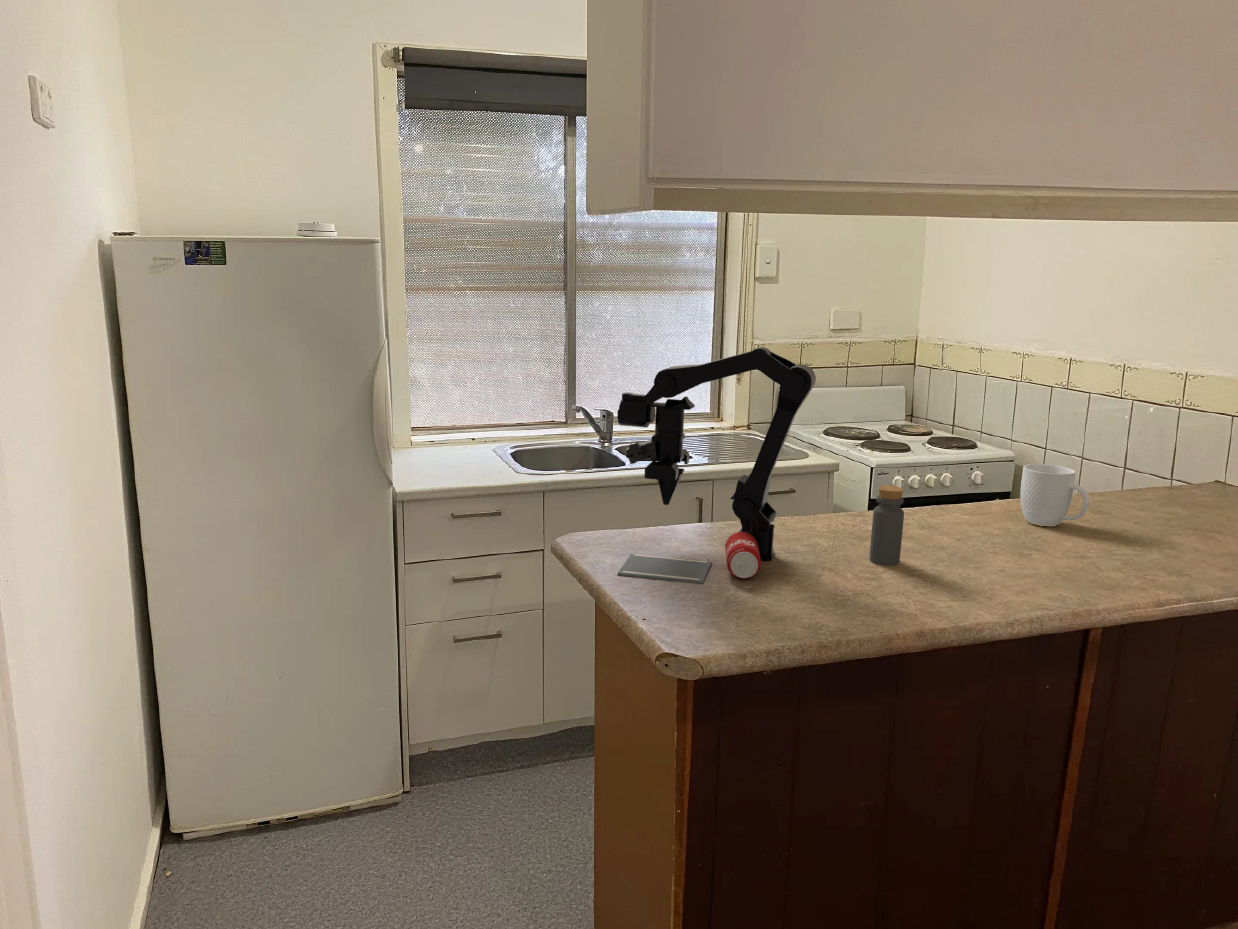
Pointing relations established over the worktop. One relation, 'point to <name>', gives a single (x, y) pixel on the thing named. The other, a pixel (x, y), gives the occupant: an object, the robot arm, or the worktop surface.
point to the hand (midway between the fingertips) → (666, 504)
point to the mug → (1049, 494)
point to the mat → (665, 568)
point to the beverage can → (742, 555)
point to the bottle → (887, 527)
